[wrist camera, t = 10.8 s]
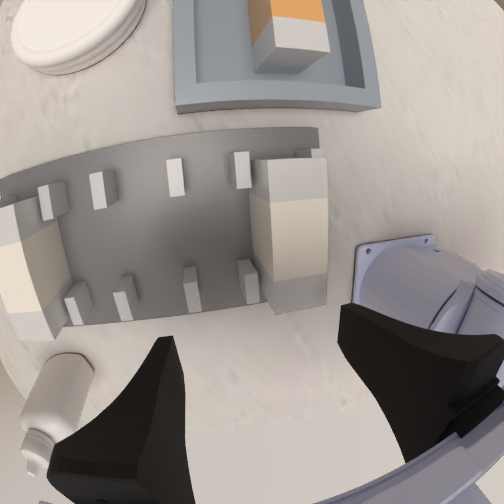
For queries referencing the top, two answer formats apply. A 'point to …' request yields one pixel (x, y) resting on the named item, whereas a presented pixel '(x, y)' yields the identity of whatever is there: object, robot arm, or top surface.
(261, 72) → the orange fuse
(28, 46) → the white round tin
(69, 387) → the eye dropper bottle
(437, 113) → the top surface
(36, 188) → the panel
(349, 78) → the tray
